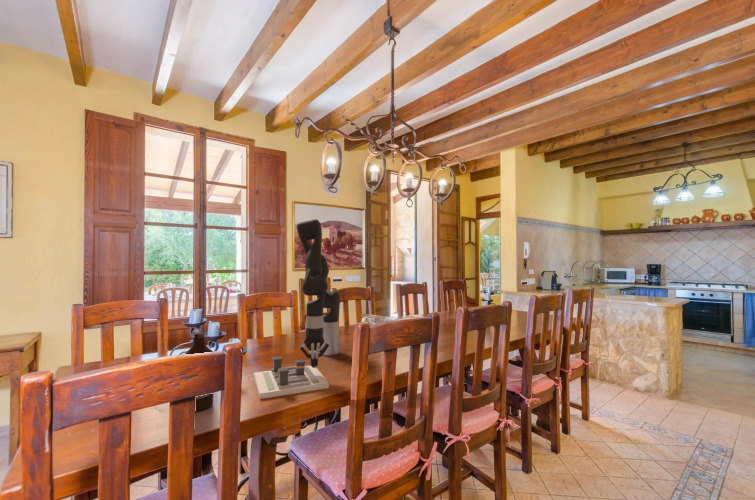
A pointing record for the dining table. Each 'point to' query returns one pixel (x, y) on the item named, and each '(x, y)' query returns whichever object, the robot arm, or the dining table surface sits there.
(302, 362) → the breaker handle
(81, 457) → the dining table surface
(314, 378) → the switch board
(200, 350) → the olive oil
